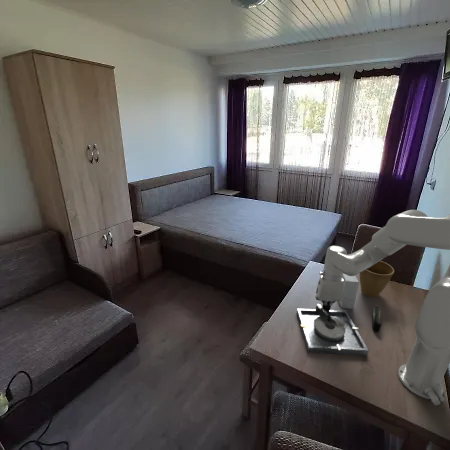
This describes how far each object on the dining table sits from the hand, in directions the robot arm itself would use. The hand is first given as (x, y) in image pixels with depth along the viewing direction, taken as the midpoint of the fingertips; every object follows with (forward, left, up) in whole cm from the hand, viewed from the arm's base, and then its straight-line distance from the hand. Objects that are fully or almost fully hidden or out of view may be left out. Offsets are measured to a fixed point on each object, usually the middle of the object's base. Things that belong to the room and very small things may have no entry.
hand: (325, 310), depth 116 cm
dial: (-6, +1, -3) cm, 7 cm away
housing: (-8, +1, -4) cm, 9 cm away
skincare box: (+12, -13, -5) cm, 18 cm away
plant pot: (+21, -29, -5) cm, 36 cm away
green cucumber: (0, -22, -5) cm, 23 cm away
